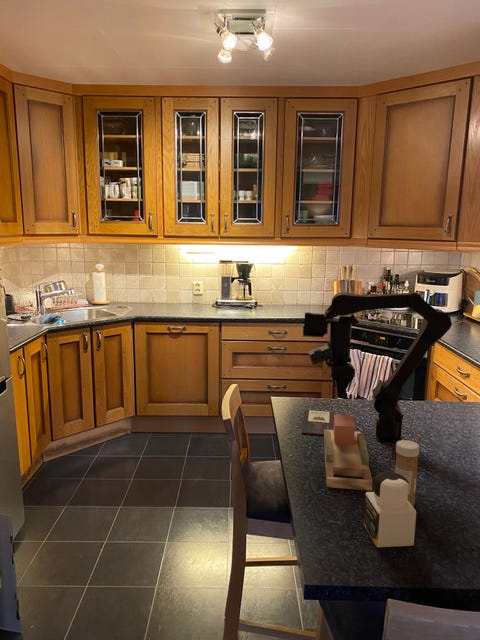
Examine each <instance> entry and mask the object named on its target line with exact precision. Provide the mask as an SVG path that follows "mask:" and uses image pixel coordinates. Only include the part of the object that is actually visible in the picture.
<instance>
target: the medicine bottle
mask: <svg viewBox="0 0 480 640" xmlns="http://www.w3.org/2000/svg"><path fill="white" fill-rule="evenodd" d="M373 483H374V485H373V491H366V492H365V498H364V514H363V515H364V517H363V526H364V527H365V530H366V531H367V532H368V535H369V537H370V538H371V540H372V541H373V544H374V545H375V547H376V548H391V547H392V548H394V547H411V546H414V545H415V535H416V534H415V533H416V532H415V531H416V521H417V519H416V518H417V511H416V509H415V508H414V506H412V505H411V504H410V503H409V501H408V487H409V482H408V480H407V479H406V478H405V477H404V476H402V475H400V474H398V473H395V471H380V472H378V473H377V474H376V475H375V477H374V482H373Z"/></svg>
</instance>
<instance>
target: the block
mask: <svg viewBox="0 0 480 640" xmlns="http://www.w3.org/2000/svg"><path fill="white" fill-rule="evenodd" d="M354 420H355V419H354V416H353V415H352V414H351V415H349V414H348V415H347V414H335V413H334V426H333V434H334V443H335V444H347V445H354V435H355V431H356V426H355V425H356V424H355V422H354Z"/></svg>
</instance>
